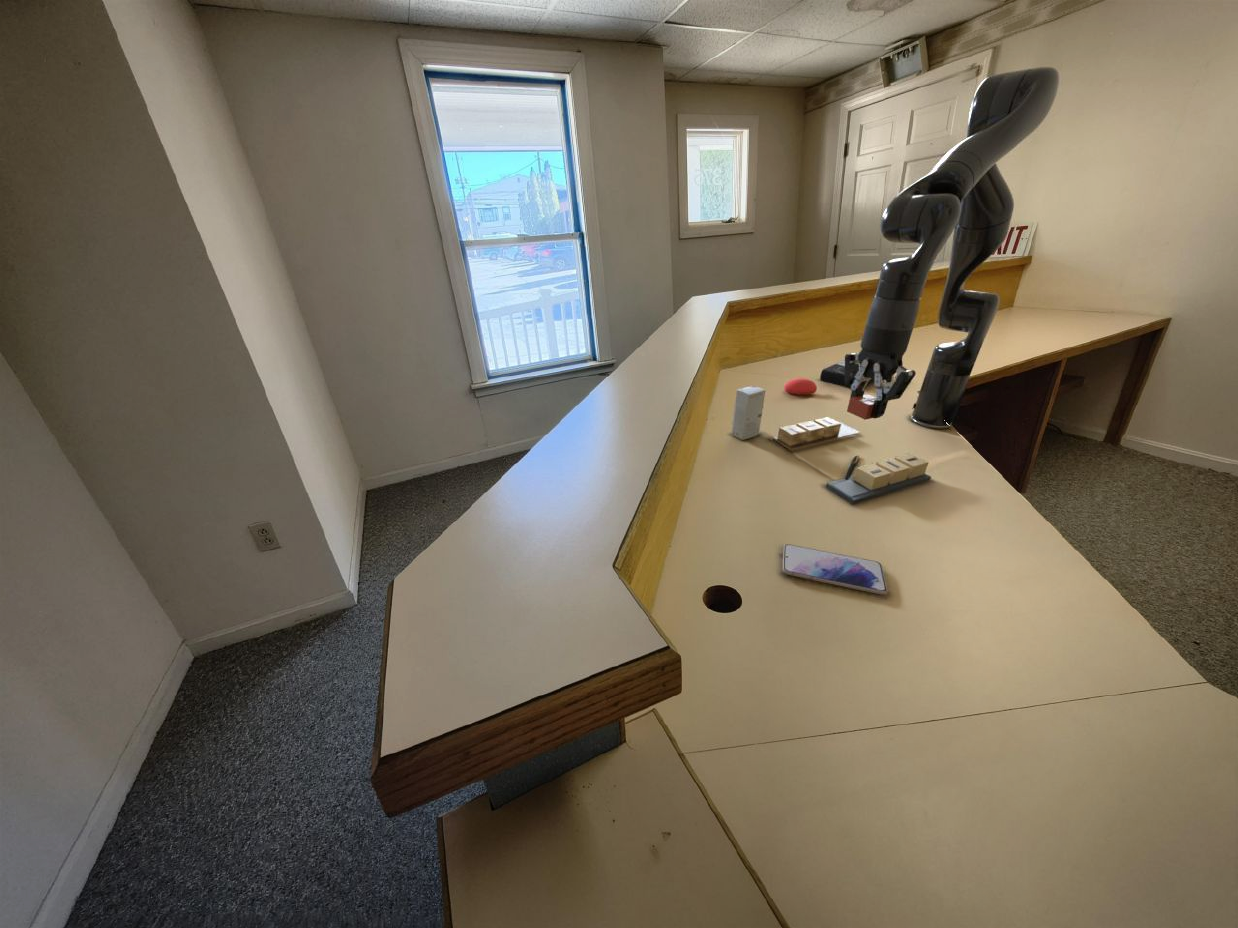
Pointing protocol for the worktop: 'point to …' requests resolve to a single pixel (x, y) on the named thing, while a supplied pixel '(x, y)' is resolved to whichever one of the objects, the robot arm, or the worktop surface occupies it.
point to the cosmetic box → (748, 412)
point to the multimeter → (836, 374)
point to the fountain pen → (852, 467)
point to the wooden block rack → (881, 478)
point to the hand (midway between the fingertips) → (864, 412)
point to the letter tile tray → (812, 432)
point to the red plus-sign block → (861, 406)
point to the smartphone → (834, 569)
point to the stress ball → (800, 386)
